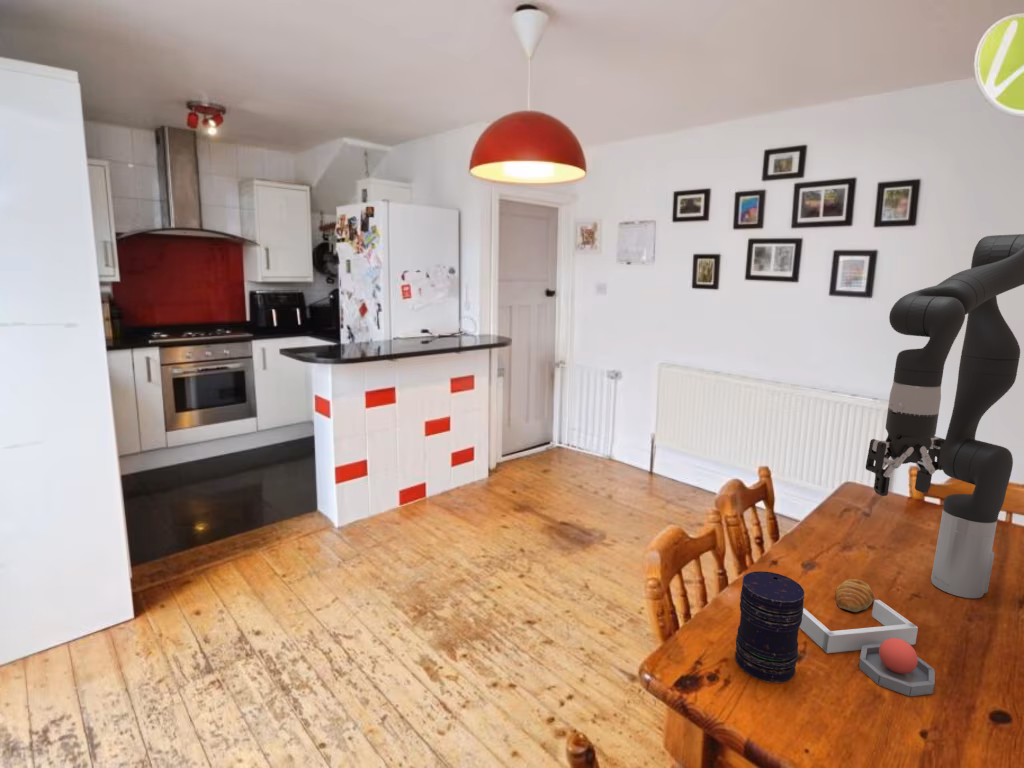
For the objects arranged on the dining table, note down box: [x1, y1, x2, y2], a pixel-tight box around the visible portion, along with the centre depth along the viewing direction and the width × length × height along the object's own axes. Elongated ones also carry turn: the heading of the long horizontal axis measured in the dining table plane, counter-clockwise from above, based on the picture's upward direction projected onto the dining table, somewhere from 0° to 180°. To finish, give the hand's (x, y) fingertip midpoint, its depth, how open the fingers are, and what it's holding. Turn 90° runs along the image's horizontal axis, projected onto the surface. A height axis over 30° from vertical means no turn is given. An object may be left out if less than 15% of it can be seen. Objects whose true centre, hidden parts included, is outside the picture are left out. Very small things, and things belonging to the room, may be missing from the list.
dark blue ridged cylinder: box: [734, 570, 805, 684], centre depth 99 cm, size 10×10×15 cm
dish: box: [858, 644, 936, 697], centre depth 98 cm, size 10×10×2 cm
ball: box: [879, 638, 919, 674], centre depth 97 cm, size 6×6×6 cm
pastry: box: [835, 578, 876, 613], centre depth 119 cm, size 9×7×4 cm
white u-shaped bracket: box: [799, 599, 919, 654], centre depth 108 cm, size 18×9×4 cm, turn 99°
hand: (901, 492), depth 106 cm, fingers open, 8 cm apart
